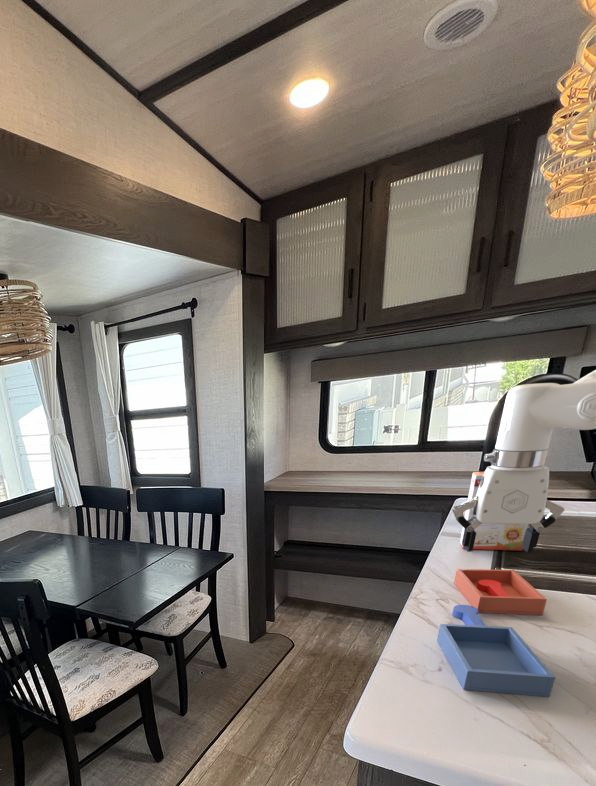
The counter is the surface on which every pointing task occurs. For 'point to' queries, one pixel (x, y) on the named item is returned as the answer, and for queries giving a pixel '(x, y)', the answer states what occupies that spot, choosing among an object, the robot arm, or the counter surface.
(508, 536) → the cracker box
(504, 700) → the counter surface
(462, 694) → the counter surface
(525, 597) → the terracotta bin
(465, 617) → the blue keyhole shape
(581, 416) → the robot arm
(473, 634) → the blue bin
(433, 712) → the counter surface
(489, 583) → the red keyhole shape
